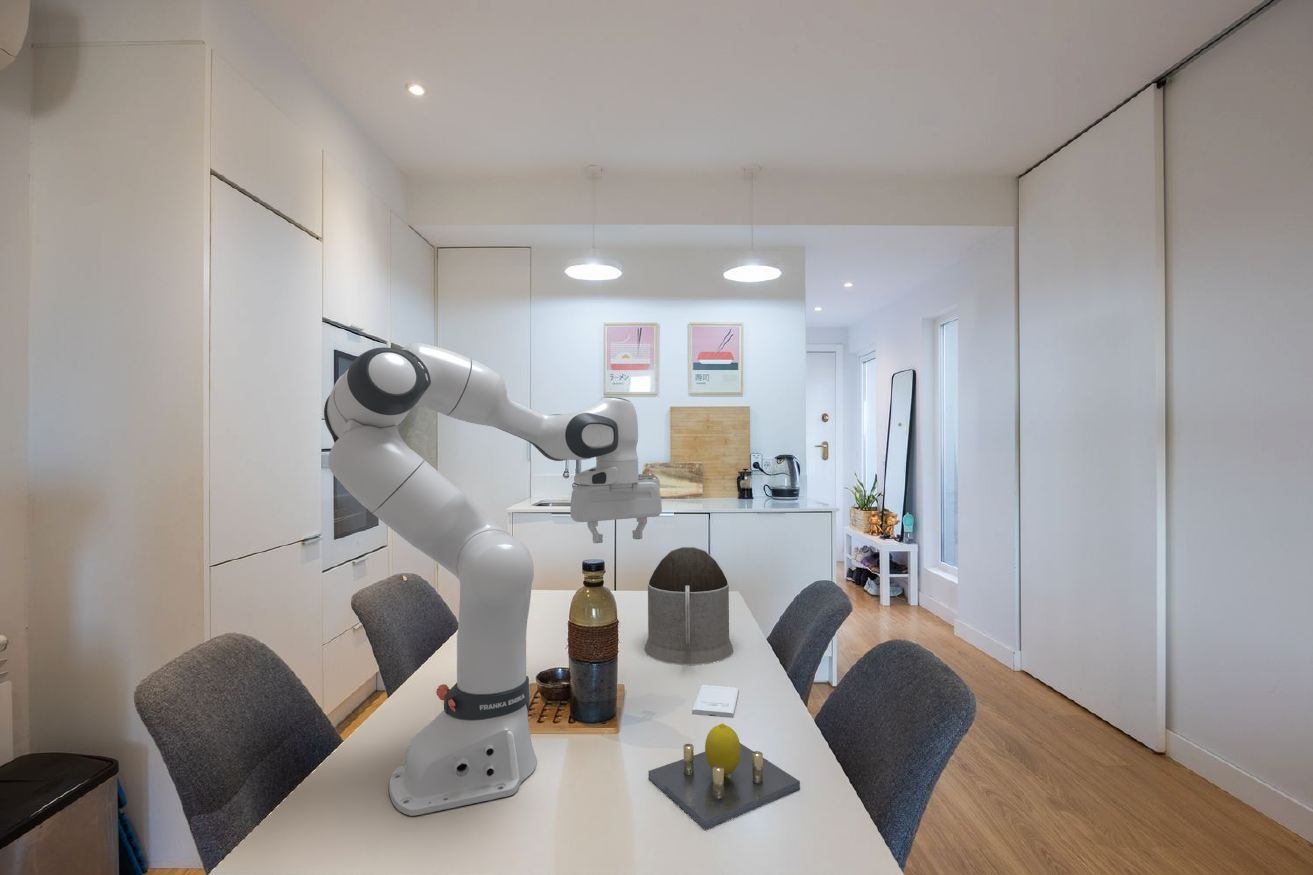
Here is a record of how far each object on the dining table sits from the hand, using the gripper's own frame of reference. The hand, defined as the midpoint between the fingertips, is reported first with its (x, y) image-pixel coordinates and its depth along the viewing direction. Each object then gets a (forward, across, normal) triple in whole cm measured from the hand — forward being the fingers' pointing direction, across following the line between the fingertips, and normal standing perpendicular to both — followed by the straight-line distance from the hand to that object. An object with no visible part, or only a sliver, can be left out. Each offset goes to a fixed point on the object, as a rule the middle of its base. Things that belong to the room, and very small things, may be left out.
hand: (617, 540), depth 124 cm
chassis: (+33, +1, +36) cm, 49 cm away
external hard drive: (+34, -16, +12) cm, 40 cm away
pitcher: (+33, -28, -15) cm, 46 cm away
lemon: (+32, +1, +36) cm, 48 cm away
